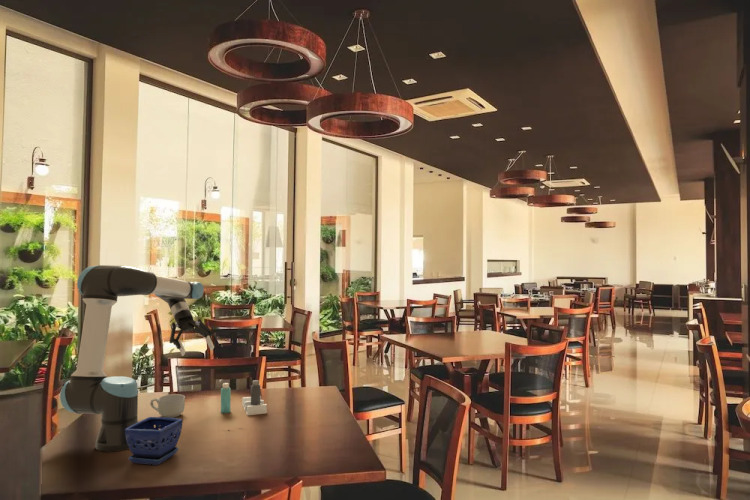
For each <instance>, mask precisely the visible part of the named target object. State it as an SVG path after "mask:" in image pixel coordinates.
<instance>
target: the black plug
mask: <svg viewBox="0 0 750 500" xmlns="http://www.w3.org/2000/svg"><path fill="white" fill-rule="evenodd" d="M260 396H261V384H260V380H258V379H257V380H256V379H255V380H254V379H253V380H252V385H251V384H250V397H251V405H260Z"/></svg>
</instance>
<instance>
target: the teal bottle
mask: <svg viewBox="0 0 750 500" xmlns="http://www.w3.org/2000/svg"><path fill="white" fill-rule="evenodd" d="M231 391H232V389H231V387H230V383H228V382H224V383H222V388H220V413H221V414H230V413H231V405H232V404H231V400H232V399H231V397H232V396H231V395H232V394H231Z"/></svg>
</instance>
